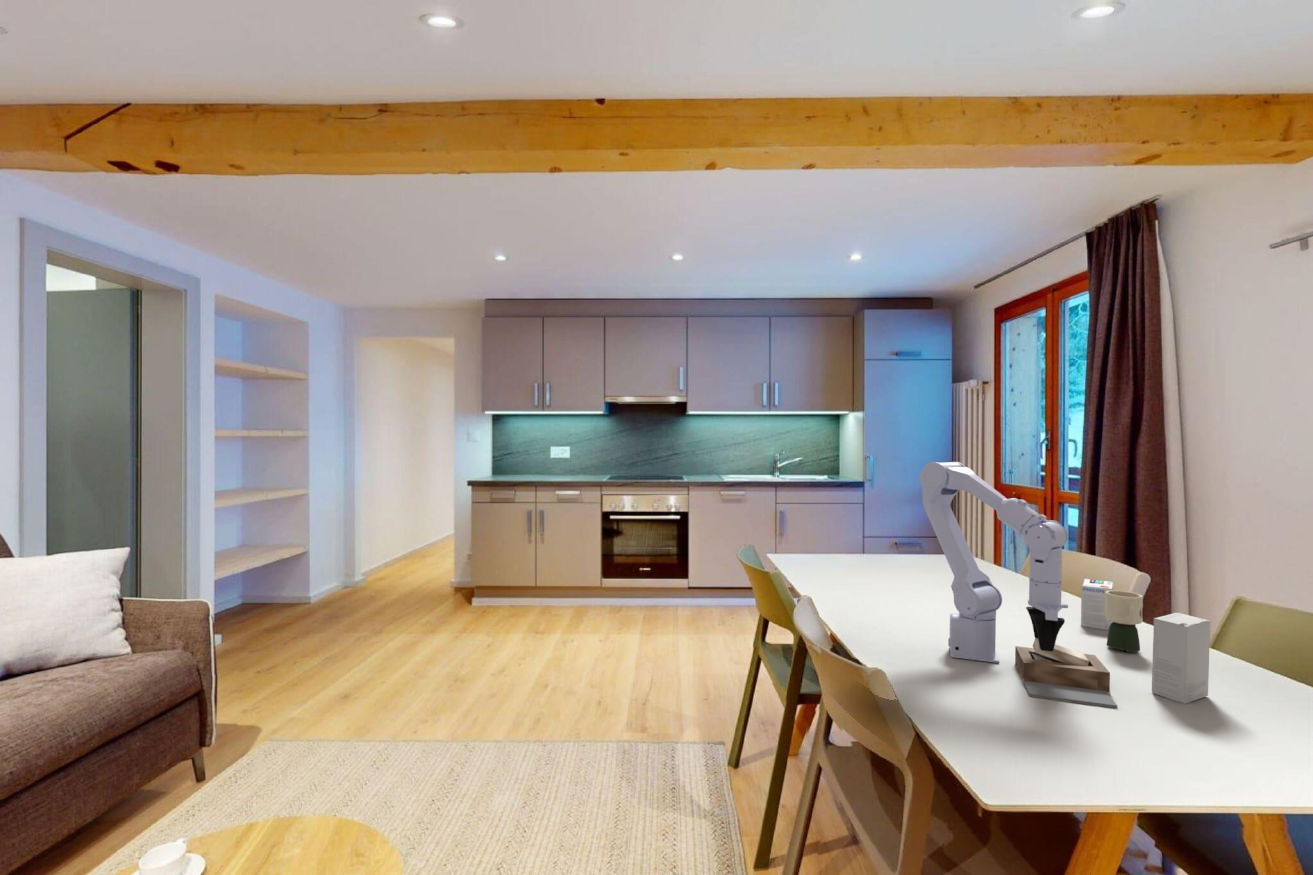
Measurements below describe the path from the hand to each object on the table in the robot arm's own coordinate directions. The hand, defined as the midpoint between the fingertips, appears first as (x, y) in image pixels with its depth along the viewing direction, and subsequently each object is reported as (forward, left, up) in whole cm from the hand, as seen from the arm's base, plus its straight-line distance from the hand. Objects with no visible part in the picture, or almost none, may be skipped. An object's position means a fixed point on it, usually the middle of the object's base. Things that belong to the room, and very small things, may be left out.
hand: (1044, 646), depth 135 cm
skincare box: (+22, -2, -6) cm, 23 cm away
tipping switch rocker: (+3, 0, -4) cm, 5 cm away
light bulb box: (+20, +49, -6) cm, 53 cm away
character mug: (+20, +26, -6) cm, 34 cm away
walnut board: (+3, 0, -6) cm, 7 cm away
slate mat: (+2, -10, -6) cm, 12 cm away
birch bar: (+3, 0, -2) cm, 3 cm away
